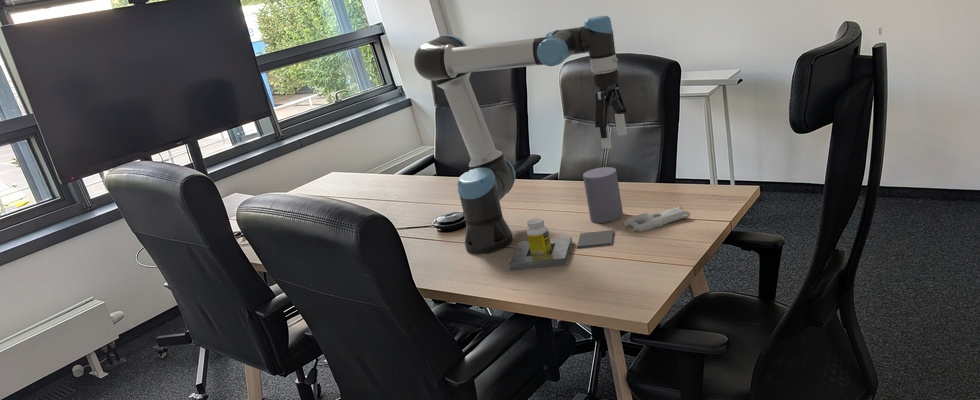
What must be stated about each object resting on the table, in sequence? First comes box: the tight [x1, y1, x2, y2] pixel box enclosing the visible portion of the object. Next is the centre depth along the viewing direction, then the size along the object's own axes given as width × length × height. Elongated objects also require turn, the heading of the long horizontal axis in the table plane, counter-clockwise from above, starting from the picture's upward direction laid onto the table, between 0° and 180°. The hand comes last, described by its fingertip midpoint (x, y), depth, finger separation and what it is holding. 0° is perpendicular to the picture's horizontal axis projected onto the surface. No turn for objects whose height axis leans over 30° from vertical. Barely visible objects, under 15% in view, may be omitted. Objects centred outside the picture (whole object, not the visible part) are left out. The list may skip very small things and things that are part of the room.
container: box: [582, 166, 624, 224], centre depth 233 cm, size 10×10×15 cm
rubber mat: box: [576, 229, 615, 249], centre depth 219 cm, size 10×10×1 cm
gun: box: [623, 206, 691, 233], centre depth 223 cm, size 18×4×10 cm
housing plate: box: [508, 235, 573, 271], centre depth 216 cm, size 16×16×2 cm
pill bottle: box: [526, 217, 553, 256], centre depth 215 cm, size 6×6×11 cm
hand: (614, 141), depth 223 cm, fingers open, 13 cm apart
